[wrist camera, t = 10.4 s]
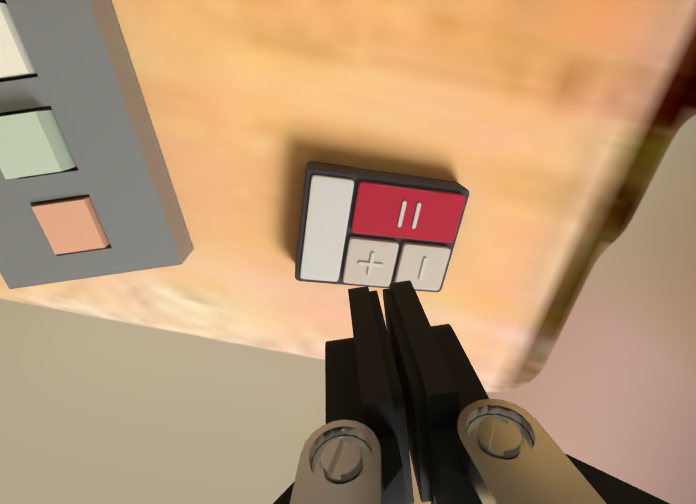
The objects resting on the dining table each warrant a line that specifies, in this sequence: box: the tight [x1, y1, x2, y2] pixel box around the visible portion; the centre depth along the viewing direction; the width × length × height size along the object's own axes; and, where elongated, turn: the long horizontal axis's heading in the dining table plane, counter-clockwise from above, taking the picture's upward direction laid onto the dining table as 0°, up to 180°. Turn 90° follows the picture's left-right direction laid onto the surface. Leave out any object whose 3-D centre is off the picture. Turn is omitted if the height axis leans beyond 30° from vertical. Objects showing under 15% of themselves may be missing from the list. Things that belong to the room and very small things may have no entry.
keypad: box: [0, 0, 193, 289], centre depth 31 cm, size 24×16×4 cm, turn 8°
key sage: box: [0, 110, 76, 179], centre depth 29 cm, size 4×4×2 cm
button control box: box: [295, 161, 469, 292], centre depth 37 cm, size 11×4×15 cm
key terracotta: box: [32, 194, 110, 255], centre depth 33 cm, size 4×4×2 cm
